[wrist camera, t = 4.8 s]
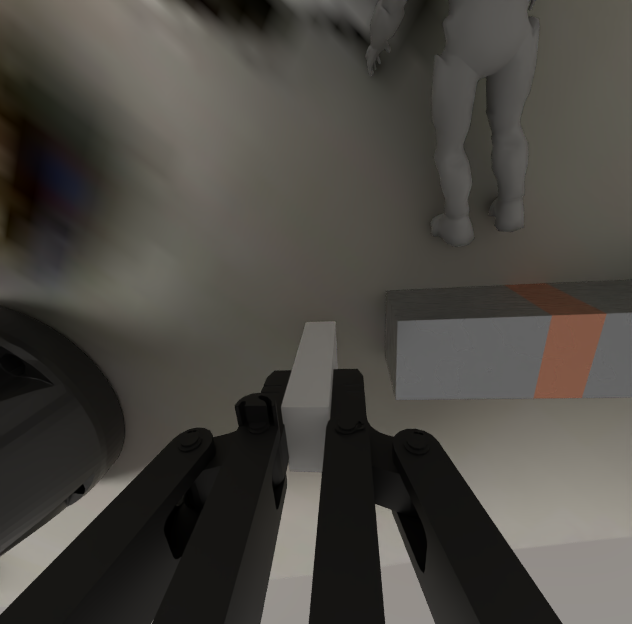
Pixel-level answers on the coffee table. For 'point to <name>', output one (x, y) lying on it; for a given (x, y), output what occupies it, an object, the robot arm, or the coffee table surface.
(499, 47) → the soldier figurine
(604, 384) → the orange-banded grey block
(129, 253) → the coffee table surface
